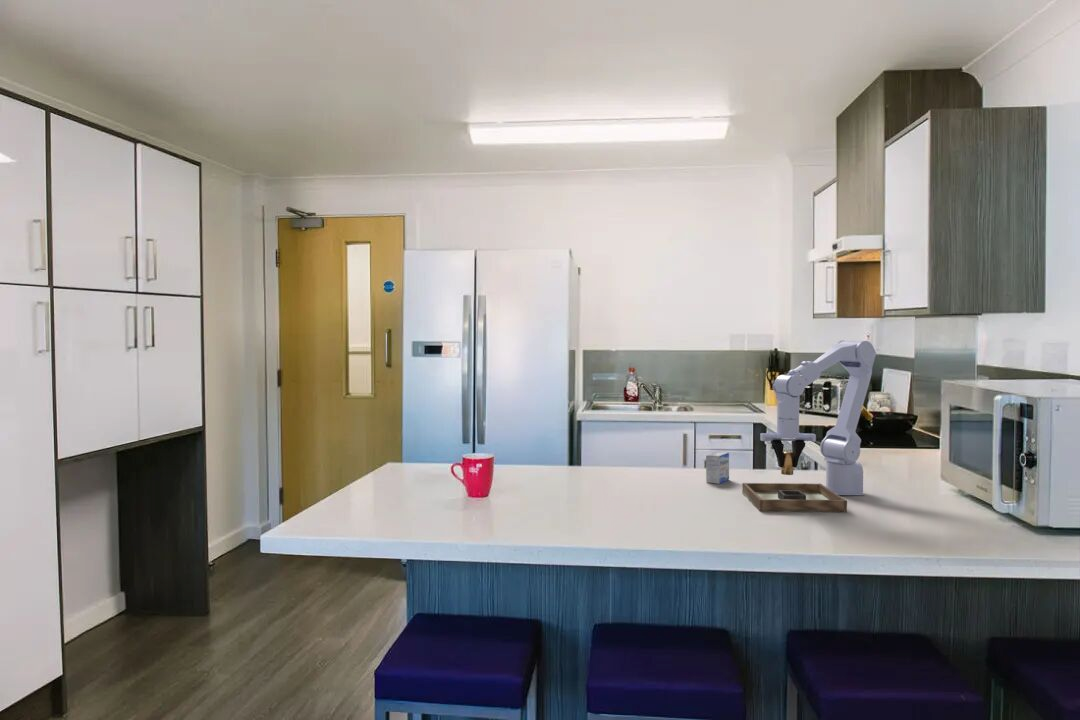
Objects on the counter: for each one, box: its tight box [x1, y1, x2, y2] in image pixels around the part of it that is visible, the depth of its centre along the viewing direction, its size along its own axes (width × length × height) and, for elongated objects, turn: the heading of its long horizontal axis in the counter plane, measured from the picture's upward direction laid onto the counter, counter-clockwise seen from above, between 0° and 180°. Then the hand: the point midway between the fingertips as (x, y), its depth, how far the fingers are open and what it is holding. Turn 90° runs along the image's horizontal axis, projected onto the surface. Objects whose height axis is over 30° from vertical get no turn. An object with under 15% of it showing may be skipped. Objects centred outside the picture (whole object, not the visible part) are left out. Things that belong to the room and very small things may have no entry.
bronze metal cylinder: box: [780, 450, 794, 476], centre depth 193 cm, size 3×3×6 cm
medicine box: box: [705, 451, 730, 485], centre depth 216 cm, size 8×4×9 cm, turn 143°
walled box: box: [741, 482, 848, 513], centre depth 189 cm, size 22×20×3 cm
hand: (787, 466), depth 192 cm, fingers closed on bronze metal cylinder, 3 cm apart
